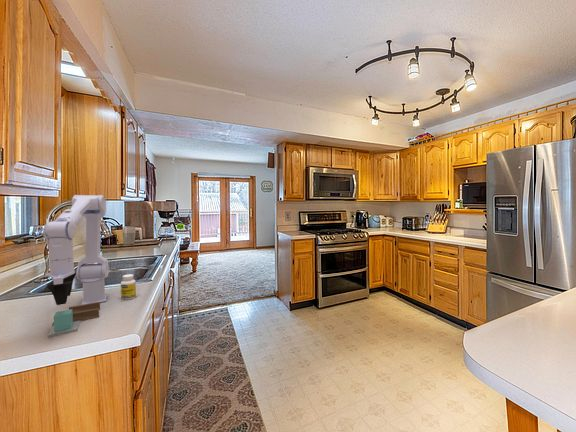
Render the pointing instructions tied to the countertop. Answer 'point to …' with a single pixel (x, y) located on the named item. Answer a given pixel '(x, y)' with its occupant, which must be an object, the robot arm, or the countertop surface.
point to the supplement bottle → (128, 287)
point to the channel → (85, 311)
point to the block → (63, 320)
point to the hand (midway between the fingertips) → (63, 300)
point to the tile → (74, 328)
